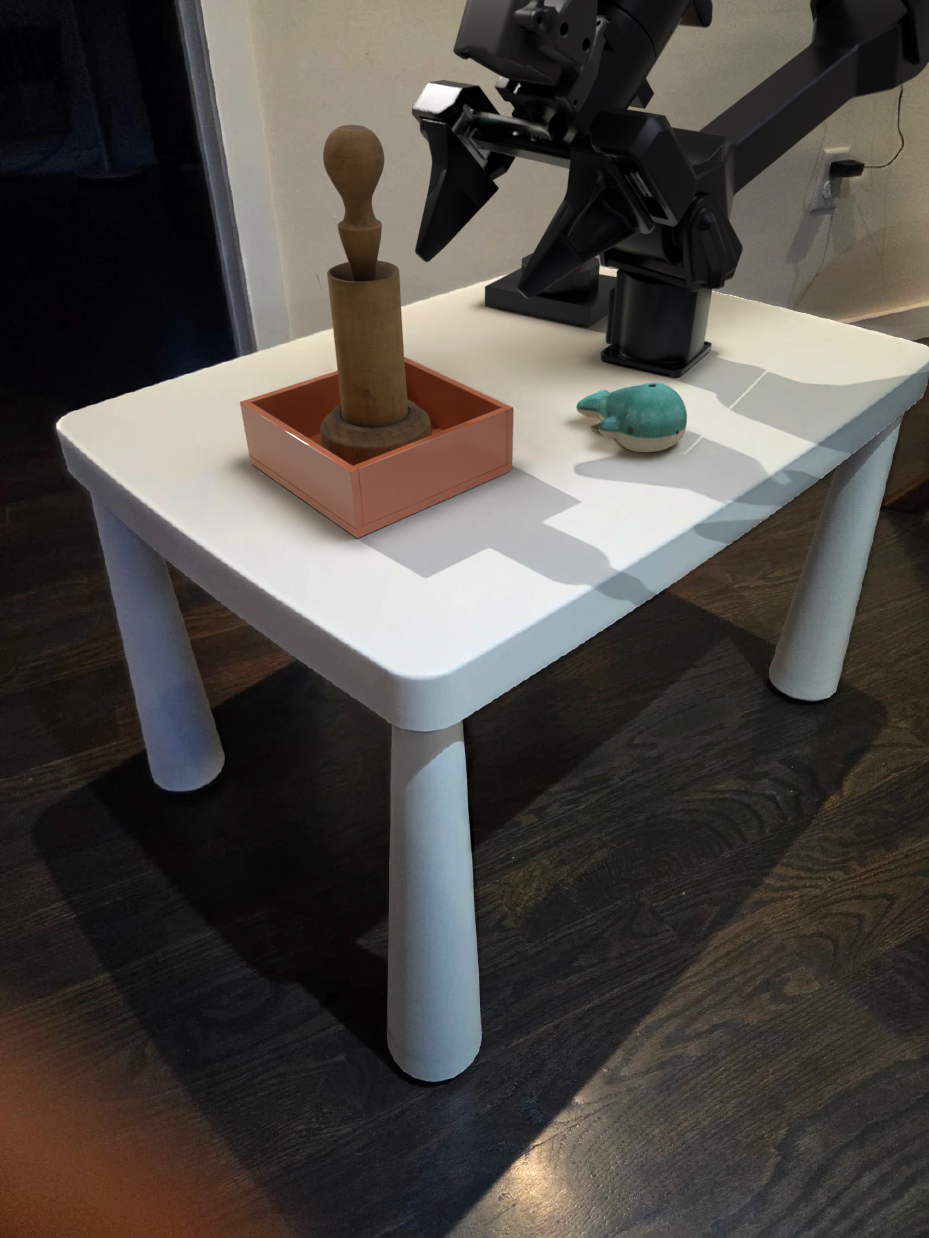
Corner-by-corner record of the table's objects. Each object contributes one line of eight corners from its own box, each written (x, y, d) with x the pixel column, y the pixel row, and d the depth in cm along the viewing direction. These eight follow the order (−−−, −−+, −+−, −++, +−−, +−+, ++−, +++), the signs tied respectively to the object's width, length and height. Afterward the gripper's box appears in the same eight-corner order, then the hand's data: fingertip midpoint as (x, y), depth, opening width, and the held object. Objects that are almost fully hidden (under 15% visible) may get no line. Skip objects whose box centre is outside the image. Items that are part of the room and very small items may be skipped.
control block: (631, 299, 79) (635, 258, 77) (588, 328, 74) (591, 284, 72) (531, 280, 84) (532, 241, 81) (484, 306, 78) (484, 264, 76)
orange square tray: (398, 409, 62) (394, 351, 60) (512, 470, 55) (514, 407, 53) (250, 463, 57) (239, 401, 54) (357, 538, 50) (350, 471, 47)
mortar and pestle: (405, 423, 59) (386, 110, 48) (451, 466, 55) (442, 130, 43) (308, 447, 57) (265, 123, 46) (348, 494, 52) (310, 146, 41)
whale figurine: (643, 469, 55) (650, 411, 53) (556, 429, 60) (559, 374, 57) (703, 439, 58) (712, 383, 56) (616, 403, 63) (621, 350, 60)
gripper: (429, -84, 52) (288, 159, 53) (693, -88, 40) (506, 222, 42) (527, 63, 61) (404, 269, 62) (765, 94, 49) (609, 346, 50)
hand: (469, 275), depth 54 cm, fingers open, 9 cm apart
